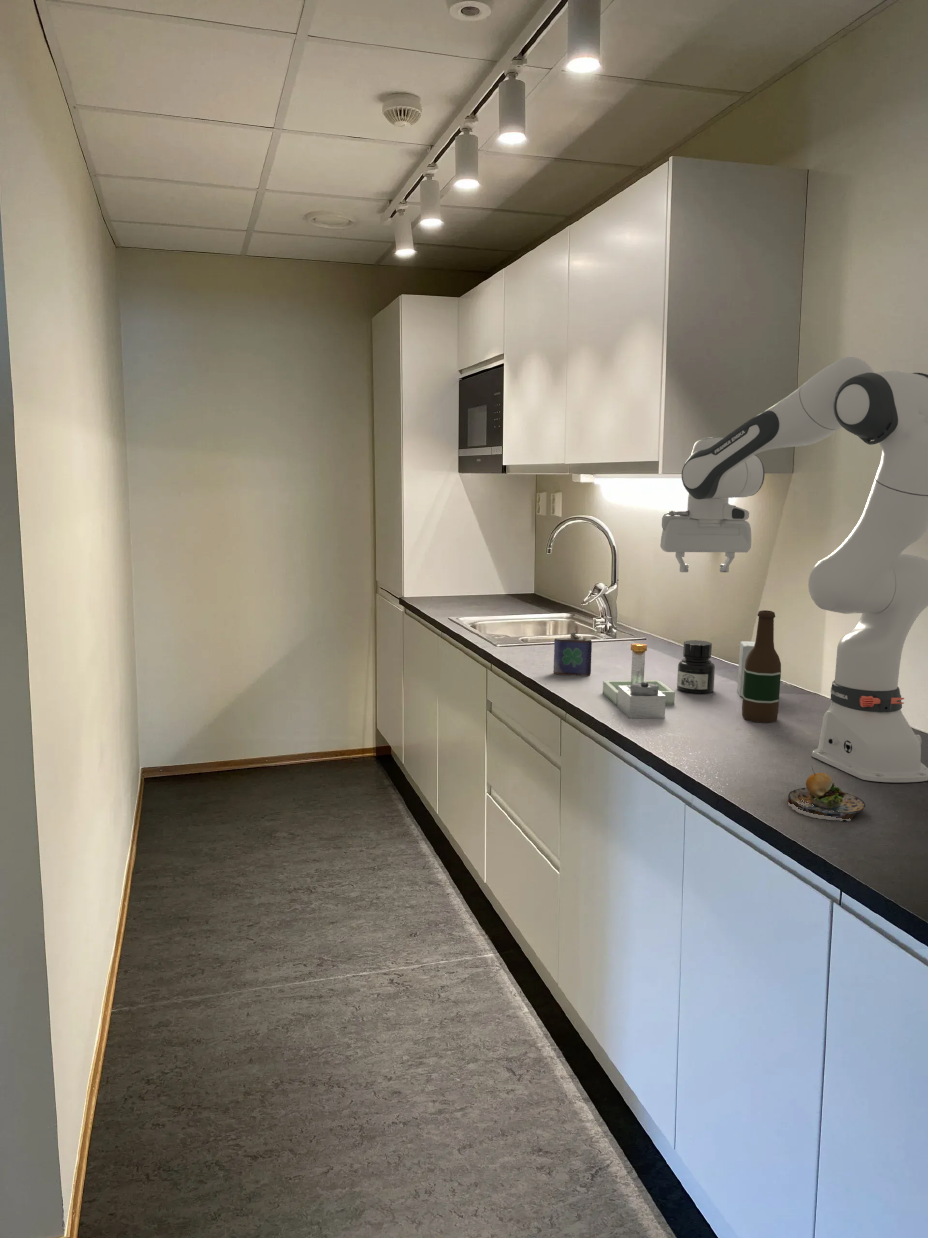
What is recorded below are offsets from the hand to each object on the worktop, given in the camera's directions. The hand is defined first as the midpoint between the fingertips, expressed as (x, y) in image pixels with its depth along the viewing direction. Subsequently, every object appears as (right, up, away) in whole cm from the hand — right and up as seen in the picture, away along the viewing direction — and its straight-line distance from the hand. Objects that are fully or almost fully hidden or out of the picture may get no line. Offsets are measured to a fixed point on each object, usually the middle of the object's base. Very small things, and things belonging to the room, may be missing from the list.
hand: (704, 572), depth 211 cm
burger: (+4, -42, -60) cm, 73 cm away
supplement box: (+16, -29, +17) cm, 38 cm away
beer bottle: (+11, -33, -6) cm, 35 cm away
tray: (-13, -30, +11) cm, 34 cm away
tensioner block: (-15, -32, -2) cm, 35 cm away
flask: (-26, -26, +36) cm, 51 cm away
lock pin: (-13, -29, +12) cm, 34 cm away
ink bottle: (+3, -29, +20) cm, 35 cm away
